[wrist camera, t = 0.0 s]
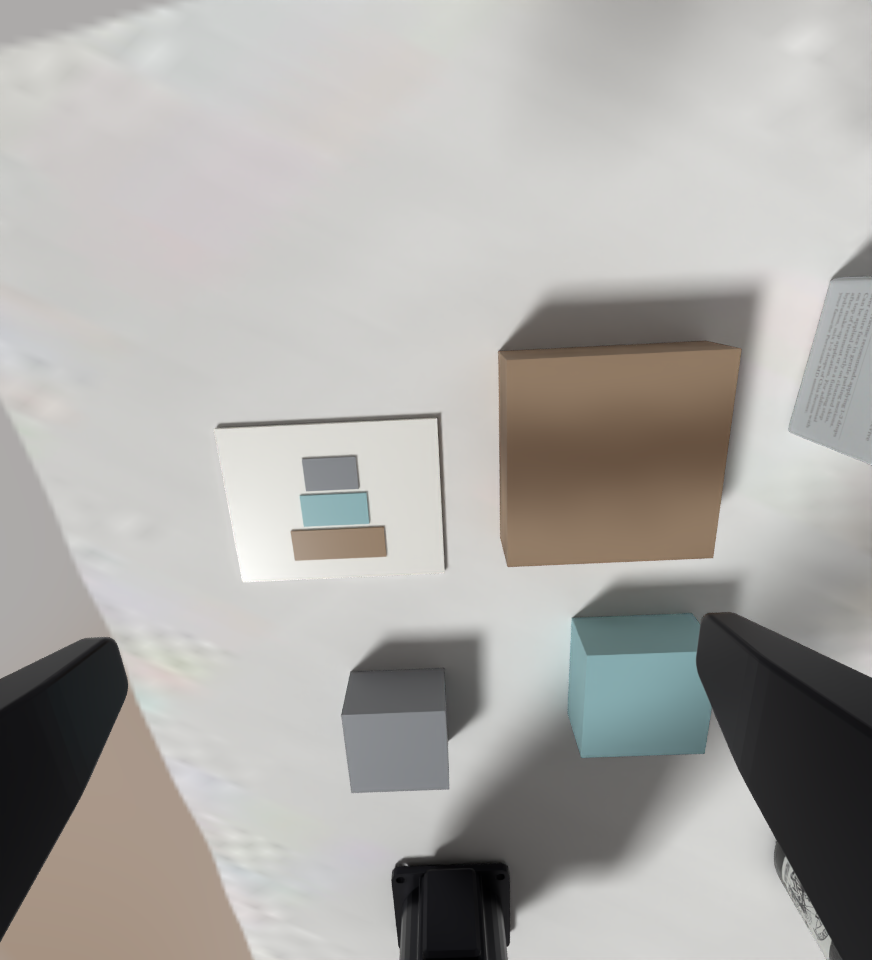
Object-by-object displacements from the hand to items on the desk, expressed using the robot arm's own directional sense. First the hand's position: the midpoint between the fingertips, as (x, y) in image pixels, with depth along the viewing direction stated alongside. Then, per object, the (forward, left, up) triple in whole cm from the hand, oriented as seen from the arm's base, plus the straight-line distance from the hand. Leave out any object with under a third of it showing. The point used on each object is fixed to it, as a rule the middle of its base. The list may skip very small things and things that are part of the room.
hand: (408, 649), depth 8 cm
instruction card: (-3, +4, -15) cm, 16 cm away
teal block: (-12, -9, -15) cm, 21 cm away
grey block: (-14, +2, -15) cm, 21 cm away
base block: (-1, -7, -15) cm, 17 cm away
